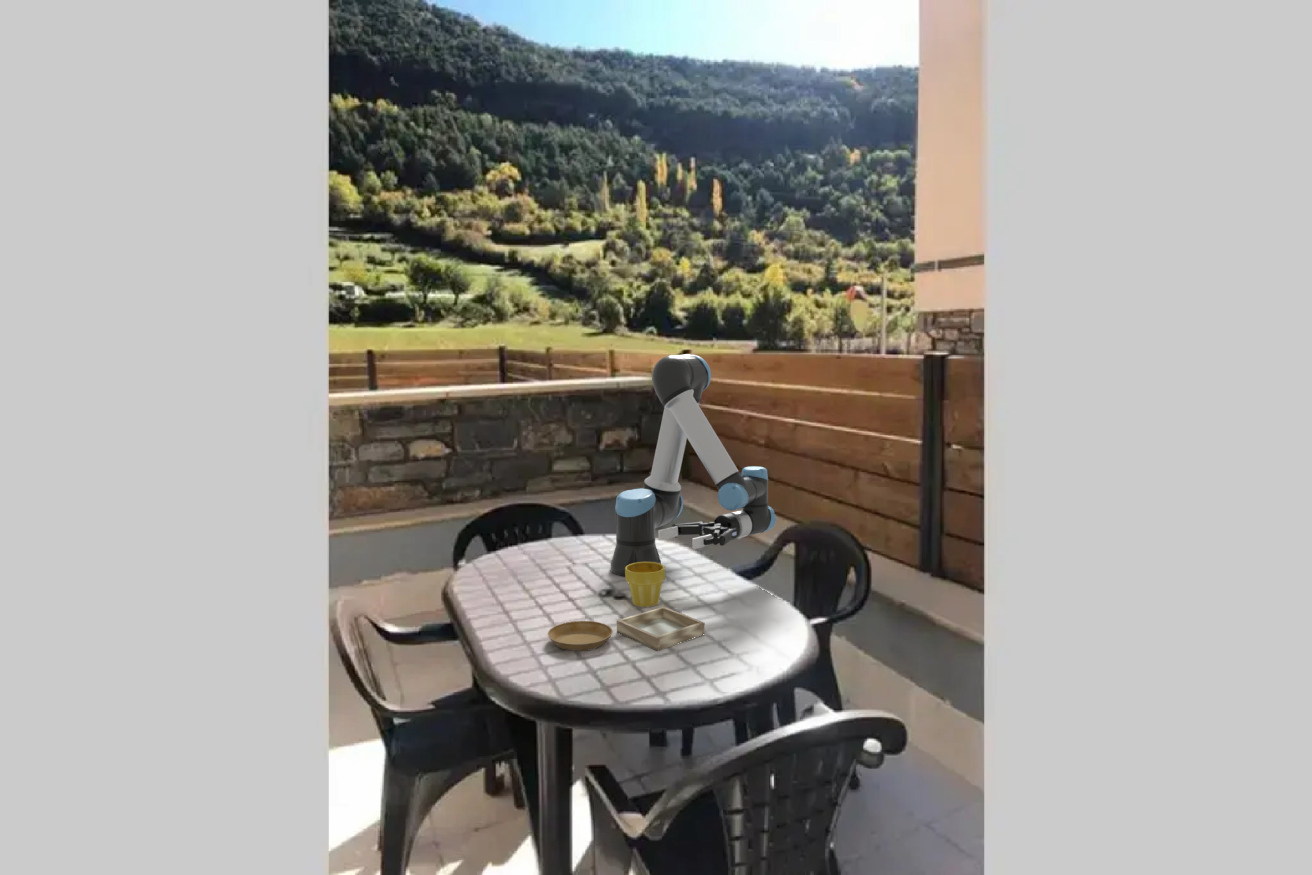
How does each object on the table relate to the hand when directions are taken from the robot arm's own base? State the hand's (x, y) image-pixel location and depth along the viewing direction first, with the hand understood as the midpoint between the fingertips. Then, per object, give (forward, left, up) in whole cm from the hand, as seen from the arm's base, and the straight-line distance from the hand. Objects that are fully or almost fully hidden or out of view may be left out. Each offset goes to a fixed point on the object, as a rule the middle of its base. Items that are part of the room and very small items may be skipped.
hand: (675, 539), depth 213 cm
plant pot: (+10, -1, -16) cm, 19 cm away
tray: (+21, +18, -15) cm, 32 cm away
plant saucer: (+38, +10, -16) cm, 42 cm away
